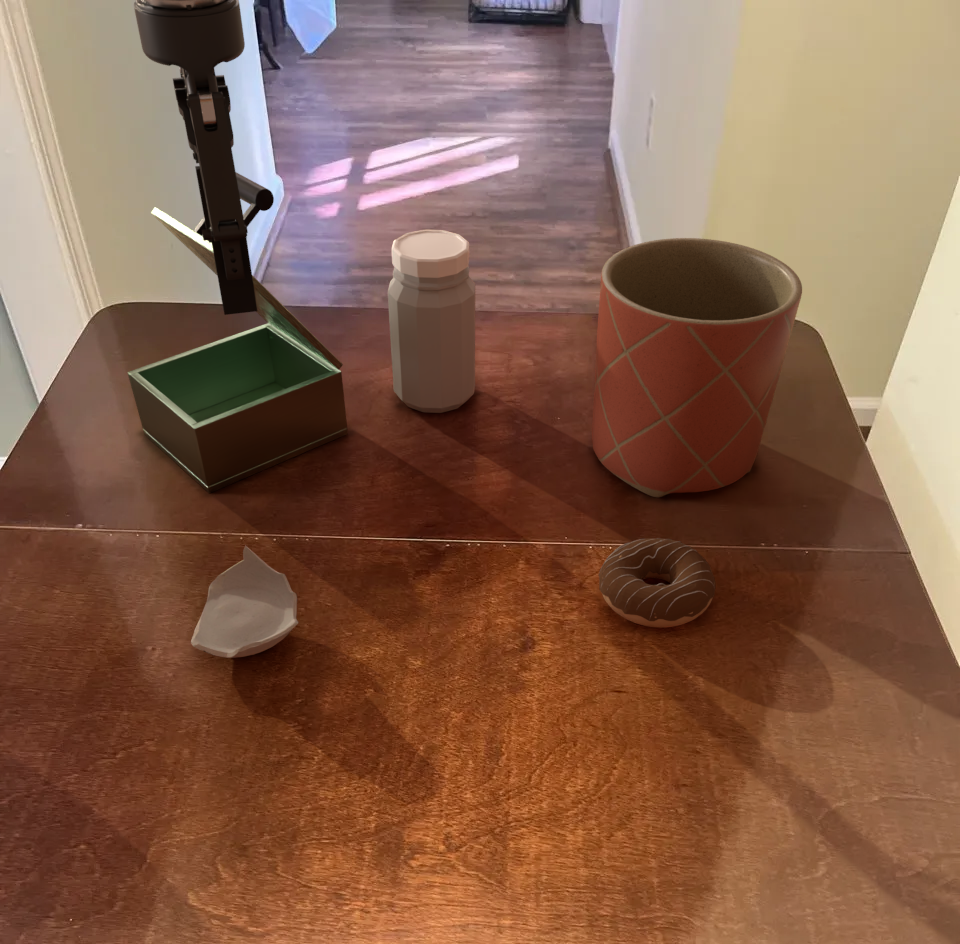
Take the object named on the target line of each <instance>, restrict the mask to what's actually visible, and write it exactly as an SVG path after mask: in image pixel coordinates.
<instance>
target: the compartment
mask: <svg viewBox="0 0 960 944" xmlns="http://www.w3.org/2000/svg"><path fill="white" fill-rule="evenodd" d="M127 376H128V379H129V383H130V387H131V390H132V395H133V398H134V403H135V405H136V409H137V412H138V413H137V414H138V416H139V420H140V423H141V427H142V431H143V435H144V436H145V437H147V439H148V440H149V441H151V442H152V443H153V444H154V445H156V447H157V448H158V449H160V450H161V451H162V452H163V453H164V454H165V455H166V456H167V457H168V458H170V460H172V461H173V462H174V463H175V464H176V465H177V466H179V468H181V469H182V470H183V471H184V472H185V473H186V474H187V475H188V476H189V477H190V478H191V479H193V480H194V481H195V482H196V483H197V484H198V485H199V486H201V488H202V489H204V490H205V491H206V492H207V493H208V494H211V493H214V492H216V491H218V490H221V489H223V488H225V487H227V486H230V485H232V484H234V483H236V482H239V481H242V480H244V479H246V478H248V477H251V476H253V475H255V474H258V473H261V472H262V471H264V470H267V469H269V468H272V467H274V466H276V465H279V464H281V463H283V462H286V461H288V460H290V459H293V458H295V457H297V456H300V455H302V454H305V453H307V452H309V451H311V450H314V449H317V448H319V447H320V446H323V445H326V444H328V443H330V442H332V441H334V440H335V441H336V440H337V439H339V438H342V437H344V436H347V435H348V423H347V413H346V403H345V393H344V383H343V382H344V381H343V374H342V370H340V369H339V370H338V369H336V368H335V367H333V366H332V365H330V364H329V363H327V362H326V361H324V360H323V359H321V358H320V357H318V356H317V355H315V354H314V353H312V352H311V351H309V350H308V349H306V348H305V347H303V346H302V345H300V344H299V343H298V342H296V341H295V340H293V339H292V338H290V337H289V336H287V335H286V334H284V333H283V332H281V331H280V330H278V329H277V328H275V327H274V326H272V325H271V324H269V323H268V322H266V323H265V324H262V325H259V326H256V327H253V328H250V329H248V330H244V331H242V332H239V333H236V334H233V335H230V336H226V337H224V338H221V339H218V340H216V341H213V342H209V343H207V344H204V345H201V346H199V347H196V348H193V349H189V350H187V351H184V352H181V353H179V354H178V353H177V354H175V355H172V356H170V357H166V358H164V359H161V360H158V361H155V362H153V363H149V364H146V365H144V366H141V367H138V368H135V369H132V370H130V371H127Z"/></svg>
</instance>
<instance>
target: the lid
mask: <svg viewBox="0 0 960 944" xmlns="http://www.w3.org/2000/svg"><path fill="white" fill-rule="evenodd" d="M235 172H236V178H237V183H238V189H239V195H240V200H241V201H243V202H245V203H247V204H248V205H249V207H248V208H247V209H246V211H245V212H244V213H243V218H244V224H245V226H247V228H248V227H249V225H250V224H251V223H252V221H253V220H254V219H255V218H256V216H257V215H258V214H259V212H260V211H261V212H266V211H268V210H270V209H271V208H272V207H273V205H274V201H275V199H274V194H273V192H272V191H271V190H270V189H269V188H266V187H264V186H263V185H261V184H259V183H257V182H255V181H253V180H252V179H249V178H248V177H246V176H244V175H242V174H240V173H239V172H237V171H235ZM150 214H151V215H152V216H153V217H154V218H155V219H156V220H158V221H159V222H160V223H161V224H162V225H163V226H164V227H165V228H166V229H167V230H168V231H169V232H170V233H171V234H172V235H173V236H174V237H176V239H177V240H178V241H180V242H181V243H182V244H183V245H184V246H185V247H186V248H188V250H190V252H191V253H193V255H195V256H196V257H197V258H198V259H199V260H200V261H201V262H202V263H203V264H204V265H205V266H207V268H209V269H210V270H211V271H212V272H213V274H215V275H216V276H217V270H216V265H215V259H214V253H213V248H212V243H209V241H208V240H206V241H204V240H203V235H202V230H204V229H206V224H205V219H204V216H202V218H201V220H200V221H199V222H198V223H197V225H196V226H195V228H194V229H192V228H190V227H189V226H187V225H185V224H184V223H182V222H180V221H179V220H177V219H176V218H175V217H173V216H172V215H170V214H168V213H167V212H165V211H163V210H161V209H160V208H158V207H157V206H154V208H153V209H152V210H151V211H150ZM252 278H253V285H254V292H255V298H256V305H257V311H255V313H257V315H258V316H260V317H261V318H262V319H263V320H264V321H265V322H266V323H269V324H271V325H272V326H274V327H275V328H277V329H278V330H280V331H281V332H283V333H284V334H286V335H287V336H289V337H290V338H292V339H293V340H295V341H296V342H298V343H299V344H300V345H302V346H303V347H305V348H306V349H308V350H309V351H311V352H312V353H314V354H315V355H317V356H318V357H320V358H321V359H323V360H324V361H326V362H327V363H329V364H330V365H332V366H333V367H335V368H336V369H338V370H340V369H341V368H342V367H343V366H344V364H343V363H342V362H341V361H340V360H339V359H338V357H336V356H335V355H334V354H333V353H332V352H331V350H329V349H328V348H327V346H325V345H324V344H323V343H322V342H321V340H319V339H318V338H317V337H316V336H315V335H314V334H313V333H312V332H311V331H310V330H309V329H308V328H307V327H306V326H305V325H304V324H303V323H302V322H301V321H299V319H298V318H296V316H295V315H294V314H293V313H292V312H290V310H289V309H287V307H286V306H284V305H283V304H282V302H281V301H280V300H279V299H277V298H276V297H275V296H274V295H273V293H272V292H270V290H268V289H267V288H266V286H264V285H263V284H262V283H261V282H260V281H259V280H258V279H257V278H256V277H255V276H254V275H253V274H252Z"/></svg>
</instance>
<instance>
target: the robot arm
mask: <svg viewBox="0 0 960 944" xmlns="http://www.w3.org/2000/svg"><path fill="white" fill-rule="evenodd" d="M133 10H134V14H135V19H136V25H137V29H138V34H139V40H140V44H141V49H142V52H143V54H144V55H145V56H146V57H147V58H148V59H149V60H150V61H152V62H154V63H156V64H159V65H163V66H166V67H167V66H168V67H170V66H176V67H178V69H179V74H180V77H174V78H172V84H173V89H174V94H175V99H176V103H177V107H178V112H179V115H181V117H182V120H183V121H184V127H185V133H186V137H187V143H188V146H189V149H190V150H192V157H193V160H194V161H195V163H196V164H198V165H195V166H194V167H195V173H196V178H197V179H196V181H197V184H198V185H197V186H198V190H199V195H200V202H201V207H202V213H203V217H204V219H205V224H206V229H204V230H202V236H203V240H204V241H206V240H208V241H209V243H212V248H213V253H214V259H215V265H216V270H217V275H216V276H217V281H218V286H219V292H220V297H221V298H220V299H221V305H222V310H223V314H224V316H227V315H237V314H245V313H246V314H247V313H254V312H255V313H256V311H257V305H256V298H255V292H254V285H253V278H252V275H253V273H252V267H251V258H250V251H249V246H248V240H247V239H248V233H249V232H248V227H247V226H245V224H244V218H243V214H244V213H243V206H242V200H241V199H240V195H239V189H238V183H237V178H236V172H237V171H236V167H235V161H234V154H233V149H232V148H233V147H234V145H235V141H234V140H235V139H234V138H235V137H234V131H233V126H232V121H231V115H230V113H231V110H232V105H231V97H230V91H229V86H228V84H227V83H226V79H225V75H224V74H217V75H216V70H215V67H216V66H218V65H220V64H221V63H229V62H232V61H234V60H235V59H237V58H239V57H240V56H241V55H242V54H243V52H244V50H245V47H246V46H245V35H244V28H243V21H242V14H241V5H240V0H135V1H134V2H133Z"/></svg>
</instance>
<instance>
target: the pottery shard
mask: <svg viewBox="0 0 960 944" xmlns="http://www.w3.org/2000/svg"><path fill="white" fill-rule="evenodd" d="M242 556H243V557H242V558H243V559H242V560H241V561H239V562H237V563H235V564H234V565H232V566H231V567H229V568H227V569H226V570H225V571H223V572H222V573H220V574H218V575H216V577H215V578H214V579H213V581H212V582H211V583H210V585H209V586H208V592H207V598H206V601H205V605H204V606H203V610H202V613H201V615H200V617H199V619H198V622H197V624H196V626H195V628H194V630H193V635H192V636H191V640H190V644H191V645H192V647H193V648H195V649H196V650H199V651H203V652H205V653H206V654H209V655H212V656H216V657H221V658H228V659H229V658H230V659H231V658H232V659H234V658H245V657H249V656H254V655H256V654H259V653H262V652H265V651H266V650H268V649H271V648H273V647H274V646H276V645H278V644H279V643H280V642H281V641H283V640H284V639H285V638H286V637H287V636H288V635H289V634H290V633H291V632H292V631H293V629H294V628H295V627H296V626H297V625H298V624H299V621H298V620H297V612H298V611H297V610H298V609H297V608H298V607H297V606H298V595H297V593H296V592H295V591H293V590H292V588H291V585H290V582H289V580H288V578H287V576H286V574H285V573H282V572H278V571H277V570H275V569H274V568H273V567H271V566H270V565H269V564H267V563H266V562H265V561H264V560H263V559H262V558H261V557H260V556H259V555H257V554H256V553H255V552H254V551H253V550H251V548H250V547H248V546H247V545H246V544H245V546H244V548H243V550H242Z"/></svg>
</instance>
